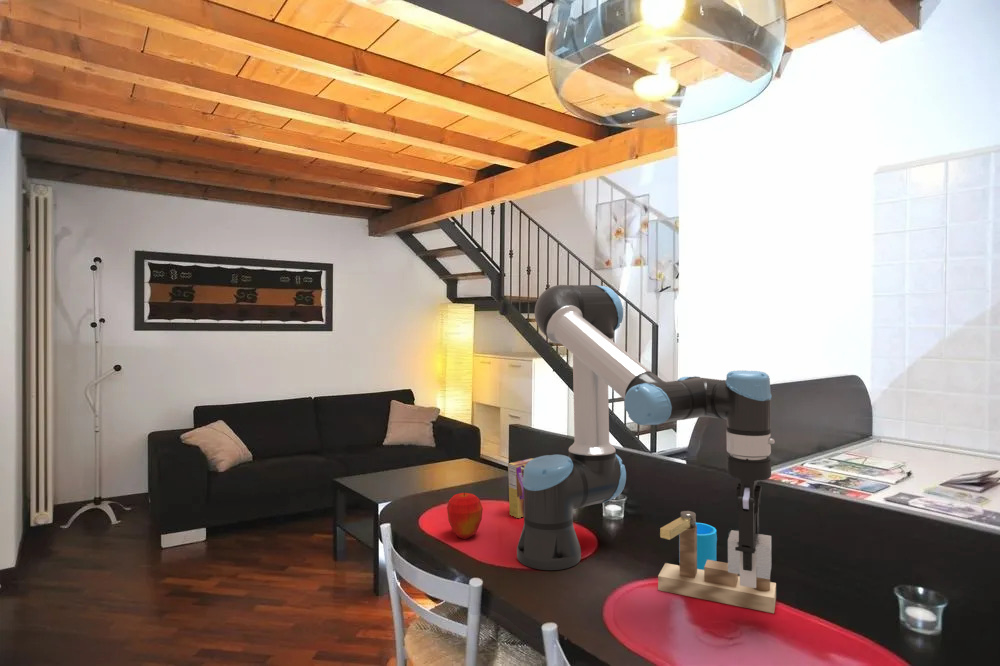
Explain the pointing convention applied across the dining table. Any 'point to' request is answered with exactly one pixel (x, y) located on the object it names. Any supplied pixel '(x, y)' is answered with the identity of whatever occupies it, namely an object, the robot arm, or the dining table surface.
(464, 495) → the apple
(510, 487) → the candy box
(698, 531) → the mug
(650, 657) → the dining table surface
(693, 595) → the wooden base with post
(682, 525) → the lever
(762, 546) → the gray rectangular block
